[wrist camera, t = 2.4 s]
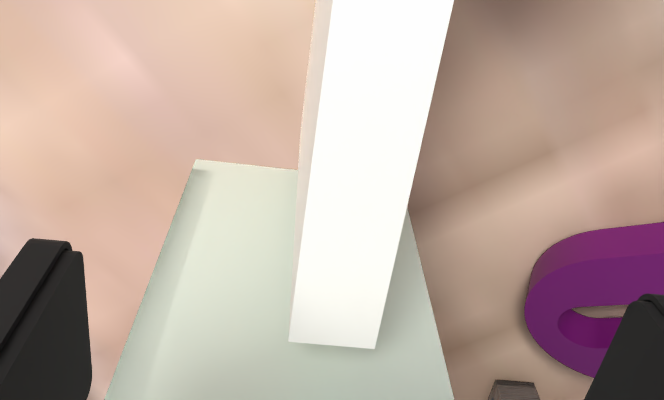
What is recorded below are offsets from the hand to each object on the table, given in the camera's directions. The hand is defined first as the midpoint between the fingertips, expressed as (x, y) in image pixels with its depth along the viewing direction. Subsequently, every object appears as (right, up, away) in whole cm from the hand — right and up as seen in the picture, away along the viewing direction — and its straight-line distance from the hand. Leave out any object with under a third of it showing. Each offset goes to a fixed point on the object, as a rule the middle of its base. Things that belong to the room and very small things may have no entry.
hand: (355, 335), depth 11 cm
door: (0, +10, +16) cm, 19 cm away
